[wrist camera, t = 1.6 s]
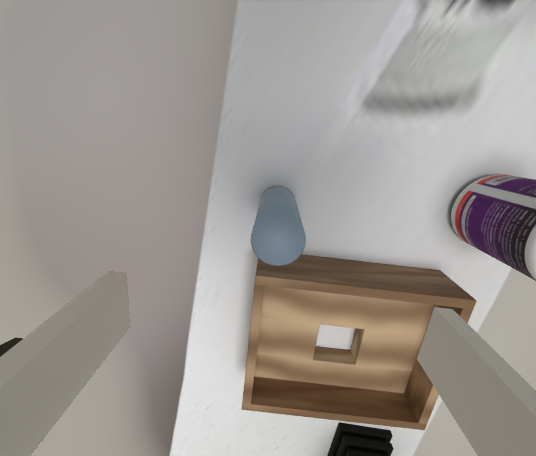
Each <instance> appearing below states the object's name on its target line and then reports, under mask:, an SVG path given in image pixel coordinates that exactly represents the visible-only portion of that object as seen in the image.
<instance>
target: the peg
mask: <svg viewBox="0 0 536 456" xmlns="http://www.w3.org/2000/svg"><path fill="white" fill-rule="evenodd" d="M305 241H306V240H305V233H304V229H303V226H302V222H301V219H300V215H299V211H298V208H297V204H296V200H295V197H294V195H293V193H292V192H291V191H290V190H289V189H287V188H286V187H283V186H273V187H271V188H269V189H267V190H266V191H265V192H264V194H263V195H262V198H261V201H260V205H259V209H258V212H257V216H256V220H255V224H254V227H253V231H252V235H251V245H252V249H253V251H254V253H255V254H256V255H257V257H258V258H259V259H261V260H262V261H263V262H265V263H267V264H270V265H276V266H280V265H286V264H289V263H291V262H293V261H295V260H296V259H297V258H298V257H299V256H300V255H301V253H302V252H303V250H304V247H305Z"/></svg>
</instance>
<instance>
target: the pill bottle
mask: <svg viewBox="0 0 536 456" xmlns="http://www.w3.org/2000/svg"><path fill="white" fill-rule="evenodd" d="M451 222H452V226H453V229H454V231H455V233H456V234H457V235H458V236H459V237H460V238H461V239H462V240H463V241H465V242H466V243H468V244H470V245H472V246H473V247H475V248H477V249H479V250H481V251H483V252H485V253H486V254H488V255H490V256H492V257H494V258H496V259H497V260H499V261H501V262H503V263H505V264H507V265H508V266H510V267H512V268H514V269H516V270H517V271H519V272H521V273H523V274H525V275H527V276H528V277H530V278H532V279H534V280H536V180H533V179H526V178H520V177H514V176H508V175H491V176H486V177H483V178H481V179H478V180H476V181H474V182H473V183H471V184H470V185H468V186H467V187H466V188H465V189H464V190H463V191H462V192H461V193H460V194H459V196H458V197H457V199H456V201H455V203H454V205H453V208H452V212H451Z"/></svg>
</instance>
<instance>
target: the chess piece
mask: <svg viewBox="0 0 536 456" xmlns="http://www.w3.org/2000/svg"><path fill="white" fill-rule="evenodd" d="M391 438H392V433H391V431H389V430H383V429H377V428H370V427H364V426H358V425H351V424H345V423H339V424H338V427H337V430H336V433H335V436H334V438H333V441H332V444H331V447H330V450H329V453H328V456H390V455H391V453H392V451H393V447H392V444H391V443H390V440H391Z"/></svg>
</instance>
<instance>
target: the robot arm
mask: <svg viewBox="0 0 536 456" xmlns="http://www.w3.org/2000/svg"><path fill="white" fill-rule="evenodd" d="M129 328H130V319H129V303H128V286H127V273H123V272H114V271H108V272H107V273H106V274H104V275H103V276H102V277H101V278H99V279H98V280H97V281H95V282H94V283H93V284H92V285H91V286H89V287H88V288H87V289H85V290H84V291H83V292H82V293H80V294H79V295H78V296H77V297H75V298H74V299H73V300H72V301H70V302H69V303H68V304H67V305H65V306H64V307H63V308H61V309H60V310H59V311H58V312H56V313H55V314H54V315H53V316H51V317H50V318H49V319H48V320H46V321H45V322H44V323H43V324H41V325H40V326H39V327H38V328H36V329H35V330H34V331H32V332H31V333H30V334H29V335H28V336H26V337H25V338H24V339H23V338H14V339H12V340H10V341H8V342H6V343H4V344H2V345H0V456H30V455H31V454H32V453H33V452H34V450H35V449H36V448H37V447H38V445H39V444H40V442H41V441H42V440H43V439H44V437H45V436H46V435H47V434H48V432H49V431H50V430H51V428H52V427H53V426H54V424H55V423H56V422H57V421H58V419H59V418H60V417H61V416H62V414H63V413H64V412H65V410H66V409H67V408H68V406H69V405H70V404H71V402H72V401H73V400H74V399H75V397H76V396H77V395H78V394H79V392H80V391H81V390H82V388H83V387H84V386H85V384H86V383H87V382H88V381H89V379H90V378H91V377H92V376H93V374H94V373H95V372H96V370H97V369H98V368H99V367H100V365H101V364H102V363H103V361H104V360H105V358H106V357H107V356H108V355H109V354H110V352H111V351H112V350H113V348H114V347H115V346H116V345H117V343H118V342H119V341H120V339H121V338H122V337H123V336H124V334H125V333H126V332H127V330H128V329H129ZM417 360H418V362H419V363H420V365H421V366H422V368H423V370H424V371H425V373H426V374H427V376H428V377H429V379H430V381H431V382H432V384H433V385H434V387H435V389H436V390H437V392H438V393H439V395H440V397H441V398H442V400H443V401H444V403H445V404H446V406H447V407H448V409H449V411H450V412H451V414H452V416H453V417H454V419H455V420H456V422H457V423H458V425H459V427H460V428H461V430H462V431H463V433H464V435H465V436H466V438H467V439H468V441H469V442H470V444H471V446H472V447H473V449H474V451H475V452H476V454H477V455H478V456H536V391H535V390H534V389H533V388H532V387H531V386H530V385H529V384H528V383H527V382H526V381H525V380H524V379H523V378H522V377H521V376H520V375H519V374H518V373H517V372H516V371H515V370H514V369H513V368H512V367H511V366H510V365H509V364H508V363H507V362H506V361H505V360H504V359H503V358H502V357H501V356H500V355H499V354H498V353H497V352H496V351H495V350H493V348H491V347H490V345H489V344H488V343H486V341H484V340H483V339H482V338H481V337H480V336H479V335H478V334H477V333H476V332H475V331H474V330H473V329H472V328H471V327H470V326H469V325H468V324H467V323H466V322H465V321H464V320H463V319H462V318H461V317H460V316H459V315H458V314H457V313H456V312H455V311H454V310H453V309H447V308H438V307H434V310H433V313H432V316H431V319H430V322H429V325H428V328H427V330H426V333H425V336H424V339H423V342H422V345H421V348H420V351H419V354H418V357H417Z"/></svg>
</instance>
